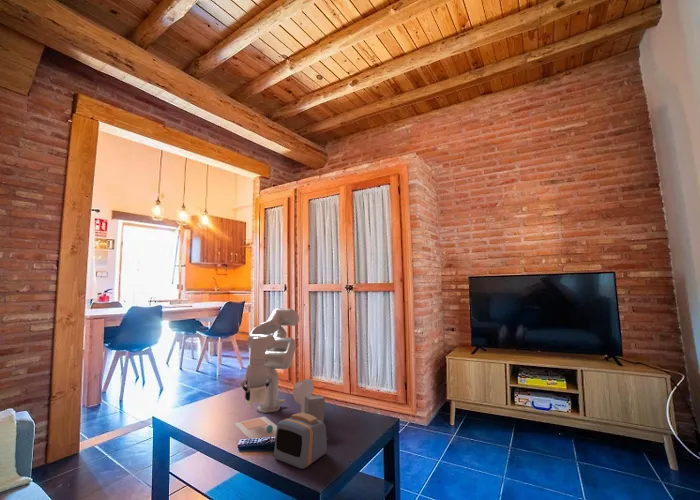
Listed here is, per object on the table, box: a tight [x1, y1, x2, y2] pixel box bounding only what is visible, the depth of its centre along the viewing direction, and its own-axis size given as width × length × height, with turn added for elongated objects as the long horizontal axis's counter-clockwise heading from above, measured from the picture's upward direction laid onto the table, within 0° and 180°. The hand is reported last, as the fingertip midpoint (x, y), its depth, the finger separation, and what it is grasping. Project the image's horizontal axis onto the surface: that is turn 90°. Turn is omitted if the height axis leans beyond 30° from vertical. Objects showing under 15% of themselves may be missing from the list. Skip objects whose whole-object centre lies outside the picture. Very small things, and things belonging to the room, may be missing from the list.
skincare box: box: [304, 394, 326, 424], centre depth 157 cm, size 8×7×16 cm
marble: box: [266, 425, 273, 432], centre depth 153 cm, size 3×3×3 cm
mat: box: [234, 416, 277, 440], centre depth 156 cm, size 16×26×1 cm, turn 39°
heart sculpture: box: [292, 378, 315, 413], centre depth 176 cm, size 16×5×18 cm, turn 156°
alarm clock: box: [273, 412, 328, 470], centre depth 133 cm, size 16×16×16 cm
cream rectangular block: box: [244, 385, 266, 410], centre depth 163 cm, size 7×7×9 cm
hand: (255, 398), depth 163 cm, fingers closed on cream rectangular block, 7 cm apart
